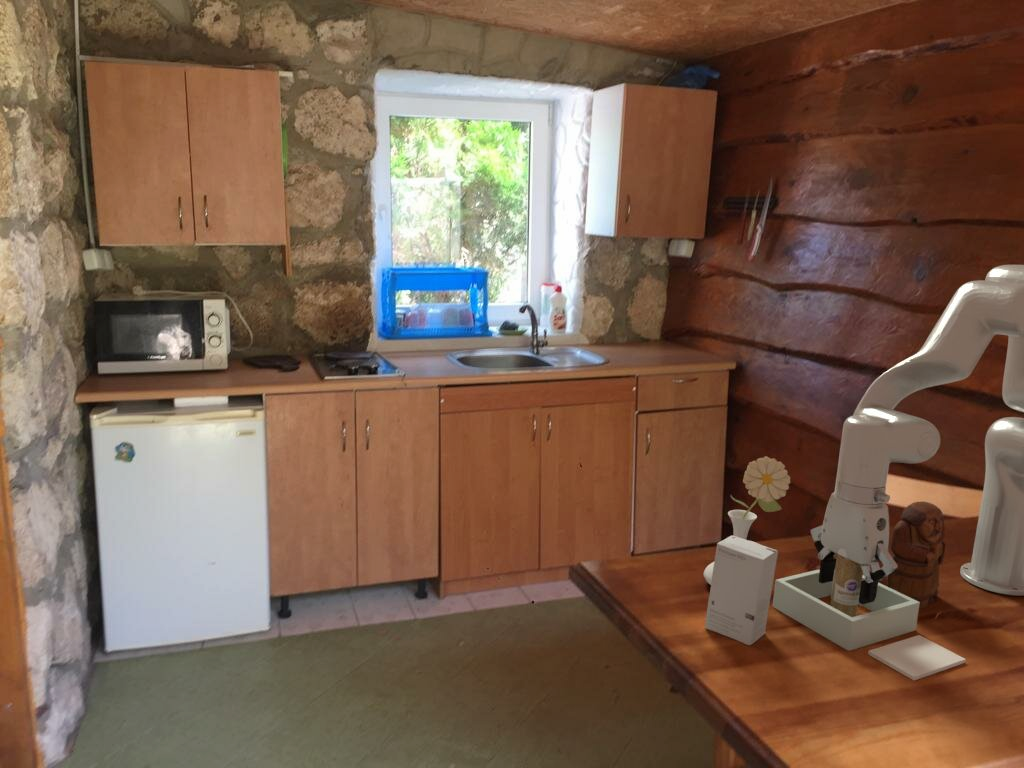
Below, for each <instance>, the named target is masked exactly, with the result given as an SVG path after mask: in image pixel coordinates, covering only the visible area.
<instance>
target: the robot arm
mask: <svg viewBox="0 0 1024 768" xmlns="http://www.w3.org/2000/svg"><path fill="white" fill-rule="evenodd" d="M996 335H1004V336H1008V343H1007V350H1006V358H1005V365H1004V371H1003V377H1002V378H1003V380H1002V388H1001V389H1002V390H1001V392H1002V393H1001V395H1002V400H1003V402H1004V404H1005V405H1006V406H1008V407H1009V408H1011V409H1013V410H1016V411H1017V412H1021V413H1024V264H1003V265H998V266H995V267H992V269H991V270H989V271H988V272H987V274H986V276H985V280H982V279H978V280H971V281H968V282H966V283H964V284H962V285H961V286H960V287H959V288H957V290H956V291H955V292H954V294H953V296H952V297H951V299H950V301H949V302H948V304H947V305H946V308H945V309H944V310H943V312H942V314H941V315H940V318H939V319H938V320H937V322H936V323H935V325H934V327H933V328H932V330H931V332H929V335H928V337H927V338H926V340H925V342H924V343H923V345H922V346H921V348H920V349H919V350H918V351H917V352H915V353H914V354H913V355H911V356H909V357H907V358H905V359H904V360H902V361H900V362H898V363H896V364H895V365H893V366H892V367H891V368H889V369H888V370H887V371H884V372H883V373H882V374H881V375H879V376H878V377H877V378H876V379H875V380H874V381H873V382H872V383H871V384H870V385H869V386H868V388H867V390H866V391H865V393H864V395H863V396H862V398H861V399H860V401H859V403H858V404H857V406H856V408H855V409H854V411H853V413H852V415H850V416H849V417H847V418H846V419H845V420H844V422H843V426H842V433H841V440H840V447H839V454H838V455H839V456H838V463H837V472H836V478H835V487H834V492H833V491H832V493H831V494H830V497H829V500H828V503H827V505H826V510H825V514H824V518H823V521H822V524H821V525H819V526H816V527H814V528H811V529H810V534H811V537H812V540H813V542H814V547H815V549H816V551H817V558H818V559H819V561H820V566H819V569H820V572H819V582H820V583H826V582H830V581H833V577H834V570H835V566H836V560H837V557H836V558H835V556H837V554H838V551H839V549H840V548H843V549H844V550H845V552H846V554H847V557H848V559H849V560H851V561H853V562H855V563H858V564H860V565H861V568H862V571H863V575H864V577H865V580H863V581H862V582H861V588H860V595H859V603H861V604H867V603H870V602H874V601H875V598H876V594H877V587H878V583H879V581H882V580H883V579H884V578H888V576H889V574H890V573H892V572H893V571H894V570H895V569H897V567H898V566H897V564H896V562H895V561H894V559H893V556H892V555H891V554H890V553H889V546H890V545H889V544H890V543H889V542H890V513H889V507H888V505H887V504H888V503H889V502H890V499H891V495H889V494H887V493H886V489H887V483H888V482H887V481H888V475H889V468H890V464H891V463H904V464H920V463H923V462H925V461H928V460H930V459H931V458H933V456H935V454H937V452H938V450H939V448H940V446H941V435H940V432H939V430H938V428H937V427H936V426H935V424H933V423H932V422H930V421H928V420H926V419H924V418H921V417H918V416H914V415H911V414H908V413H905V412H902V411H897V410H894V409H895V408H896V407H897V405H898V404H899V403H900V402H901V401H902V400H903V399H905V398H906V397H908V396H909V395H911V394H913V393H915V392H917V391H922V390H923V389H926V388H927V389H928V388H932V387H935V386H941V385H946V384H950V383H951V384H952V383H955V382H959V381H963V380H965V379H967V378H968V377H969V376H970V375H971V374H972V372H973V370H975V367H976V366H977V364H978V363H979V360H980V359H981V357H982V355H983V354H984V353H985V350H986V349H987V347H988V346H989V344H990V343H991V341H992V339H993V338H994V336H996ZM984 453H985V454H984V455H985V474H984V482H983V483H984V484H983V490H982V496H981V497H982V498H981V501H980V502H981V504H980V507H979V514H978V519H977V520H978V521H977V525H976V530H975V531H976V532H975V537H974V544H973V550H972V555H971V561H970V562H967V563H966V562H965V563H964V564H963V565H961V566H960V571H959V572H960V576H961V577H962V579H964V580H965V581H967V582H968V583H969V584H972V585H974V586H975V587H978V588H981V589H983V590H986V591H989V592H993V593H997V594H1001V595H1007V596H1014V597H1015V596H1018V597H1020V596H1021V597H1022V596H1024V417H1019V416H1018V417H1017V416H1007V417H1002V418H999V419H997V420H995V421H994V422H993V423H992V424H991V425H990V426H989V428H988V429H987V432H986V434H985V439H984ZM886 503H887V504H886ZM879 563H882V567H881V566H880V564H879Z"/></svg>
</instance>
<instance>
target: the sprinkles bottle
mask: <svg viewBox="0 0 1024 768" xmlns="http://www.w3.org/2000/svg"><path fill="white" fill-rule="evenodd" d="M836 559H837V560H836V566H835V570H834V577H833V584H832V592H831V595H830V606H832V607H833V608H835V609H837V610H839V611H841V612H843V613H845V614H846V615H848V616H850V617H855V616H858V608H859V607H858V606H859V604H858V603H859V595H860V588H861V582H862V575H864V574H863V571H862V568H861V565H860V564H858V563H855V562H853V561H851V560H849V559H848V557H847V554H846V552H845V550H844V549H843V548H840V549H839V551H838V554H836Z"/></svg>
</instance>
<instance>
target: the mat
mask: <svg viewBox="0 0 1024 768" xmlns="http://www.w3.org/2000/svg"><path fill="white" fill-rule="evenodd" d="M867 653H868V656H870V657H872V658H874V659H876V660H877V661H879V662H881V663H882V664H885V665H886V666H888V667H890V668H891V669H893V670H894V671H896V672H898V673H900V674H902V675H903V676H905V677H907V678H908V679H910V680H912V681H917V680H919V679H923V678H925V677H929V676H931V675H934V674H936V673H939V672H942V671H946V670H948V669H951V668H954V667H956V666H959V665H962V664H964V663H966V658H965V657H962V656H960V655H958V654H957V653H955V652H953V651H951V650H949V649H947V648H946V647H943V646H941V645H939V644H937V643H936V642H934V641H932V640H929V639H928V638H926V637H923V636H922V635H920V634H917V635H915V636H911V637H909V638H905V639H902V640H899V641H895V642H891V643H889V644H885V645H883V646H880V647H876V648H873V649H870V650H868V652H867Z"/></svg>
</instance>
